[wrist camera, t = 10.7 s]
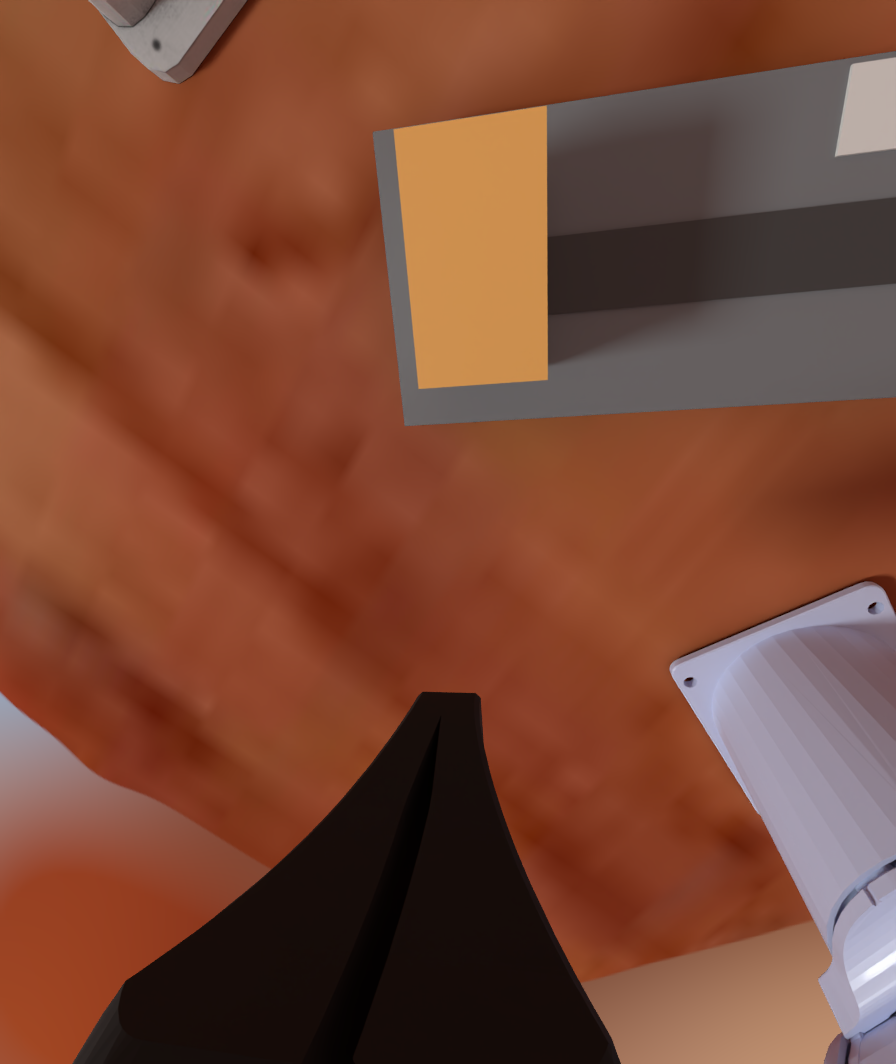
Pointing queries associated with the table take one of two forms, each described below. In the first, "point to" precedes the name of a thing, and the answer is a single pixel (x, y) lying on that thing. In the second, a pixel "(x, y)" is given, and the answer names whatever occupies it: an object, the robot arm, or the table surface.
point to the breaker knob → (476, 247)
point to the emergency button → (169, 31)
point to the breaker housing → (700, 249)
